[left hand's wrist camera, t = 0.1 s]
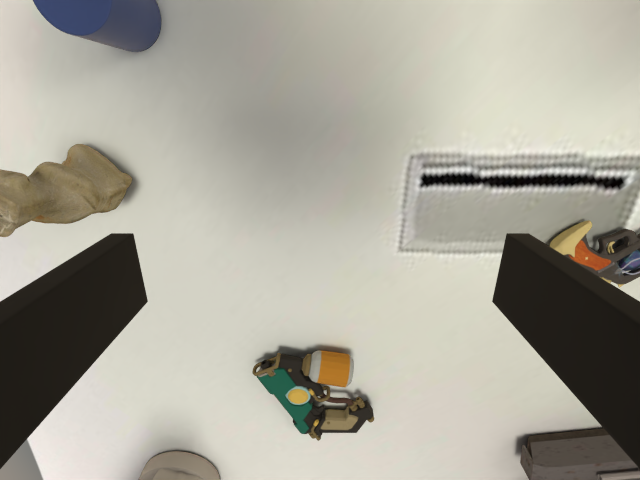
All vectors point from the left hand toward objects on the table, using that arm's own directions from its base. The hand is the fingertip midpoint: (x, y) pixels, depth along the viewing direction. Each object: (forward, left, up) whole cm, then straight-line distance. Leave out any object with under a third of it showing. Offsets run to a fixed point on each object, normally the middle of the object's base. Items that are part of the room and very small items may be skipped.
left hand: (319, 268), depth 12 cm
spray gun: (+33, -1, -28) cm, 43 cm away
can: (-14, -19, -28) cm, 36 cm away
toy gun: (+9, +38, -28) cm, 48 cm away
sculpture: (+2, -24, -28) cm, 37 cm away
